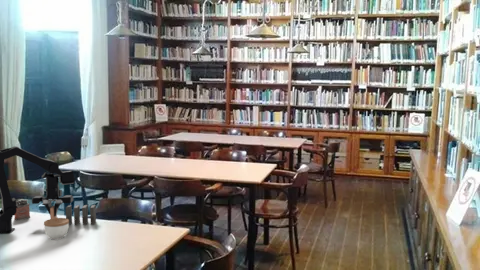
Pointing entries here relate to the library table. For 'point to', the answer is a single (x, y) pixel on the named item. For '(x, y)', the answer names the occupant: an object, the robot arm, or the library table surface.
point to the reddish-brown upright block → (22, 210)
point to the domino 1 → (52, 213)
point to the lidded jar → (56, 227)
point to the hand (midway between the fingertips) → (53, 216)
